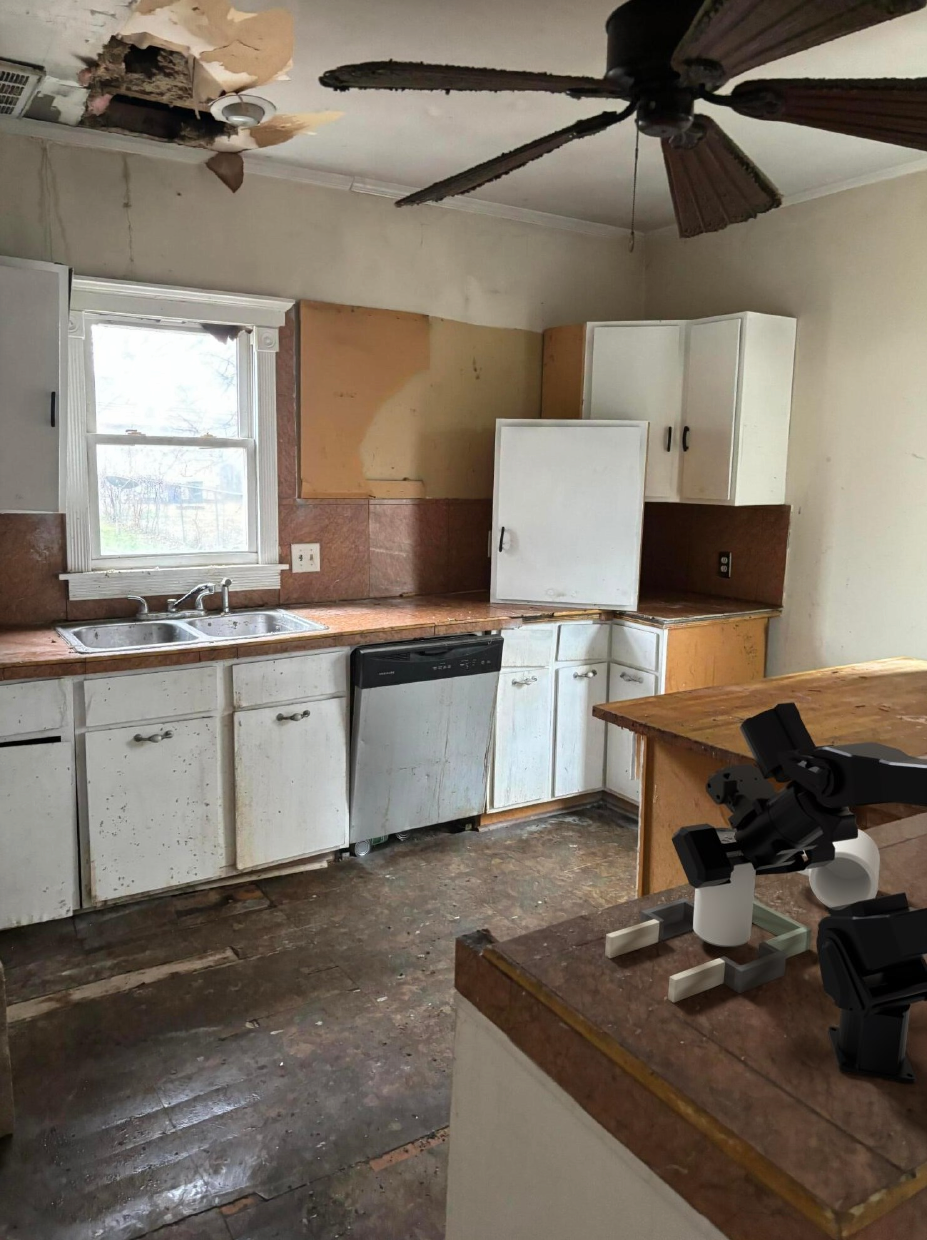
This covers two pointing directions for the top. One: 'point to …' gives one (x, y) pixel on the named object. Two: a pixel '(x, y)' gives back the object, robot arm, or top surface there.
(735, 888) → the can
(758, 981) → the channel
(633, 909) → the top surface
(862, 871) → the mug
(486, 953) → the top surface
